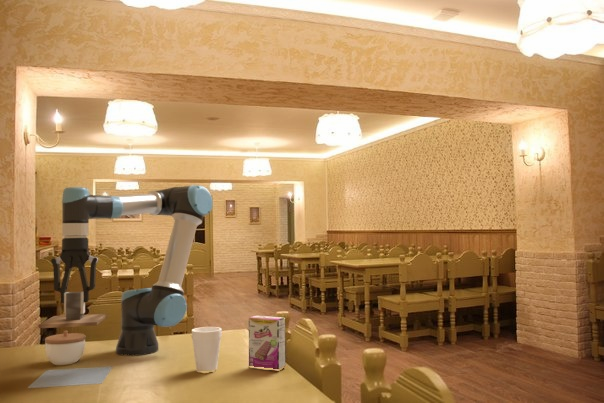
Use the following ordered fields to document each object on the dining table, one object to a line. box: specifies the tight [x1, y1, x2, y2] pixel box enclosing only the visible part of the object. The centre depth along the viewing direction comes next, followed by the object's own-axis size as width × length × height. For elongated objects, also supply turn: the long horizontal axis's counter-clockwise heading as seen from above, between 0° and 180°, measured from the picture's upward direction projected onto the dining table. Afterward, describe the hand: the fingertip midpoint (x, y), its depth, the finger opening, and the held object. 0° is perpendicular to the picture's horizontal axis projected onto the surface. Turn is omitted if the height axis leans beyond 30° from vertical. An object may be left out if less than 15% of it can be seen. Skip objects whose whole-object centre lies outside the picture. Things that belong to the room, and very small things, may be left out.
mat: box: [27, 366, 114, 389], centre depth 159 cm, size 20×20×1 cm
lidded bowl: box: [44, 330, 87, 366], centre depth 177 cm, size 13×13×11 cm
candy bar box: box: [248, 315, 286, 369], centre depth 168 cm, size 11×5×16 cm, turn 65°
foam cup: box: [191, 326, 223, 372], centre depth 166 cm, size 10×9×13 cm
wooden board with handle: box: [37, 291, 108, 329], centre depth 160 cm, size 16×16×9 cm
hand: (74, 313), depth 160 cm, fingers closed on wooden board with handle, 4 cm apart
